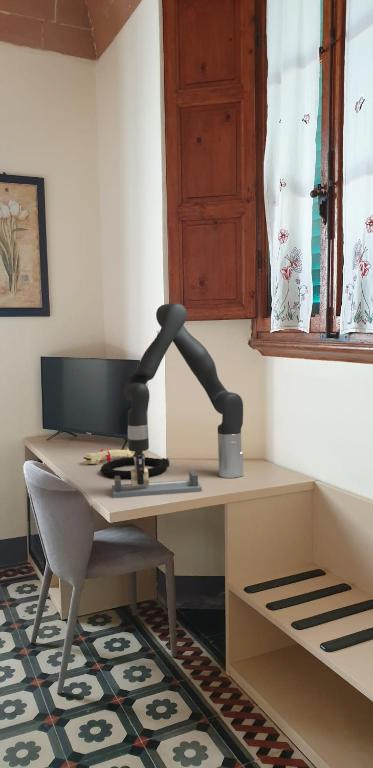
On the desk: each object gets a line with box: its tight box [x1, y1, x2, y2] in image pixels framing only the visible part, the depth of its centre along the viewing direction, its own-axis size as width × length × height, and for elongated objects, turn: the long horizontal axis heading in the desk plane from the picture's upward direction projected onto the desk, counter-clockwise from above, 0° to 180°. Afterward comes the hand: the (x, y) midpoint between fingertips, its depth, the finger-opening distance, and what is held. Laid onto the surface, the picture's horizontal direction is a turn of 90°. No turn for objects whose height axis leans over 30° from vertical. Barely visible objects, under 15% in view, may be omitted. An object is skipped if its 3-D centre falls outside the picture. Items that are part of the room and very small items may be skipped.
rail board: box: [111, 469, 203, 499], centre depth 240 cm, size 32×12×6 cm, turn 98°
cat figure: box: [82, 447, 135, 465], centre depth 291 cm, size 10×9×25 cm
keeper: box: [130, 468, 150, 486], centre depth 239 cm, size 6×5×7 cm
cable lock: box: [100, 456, 171, 480], centre depth 271 cm, size 28×4×30 cm
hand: (140, 482), depth 239 cm, fingers closed on keeper, 5 cm apart
